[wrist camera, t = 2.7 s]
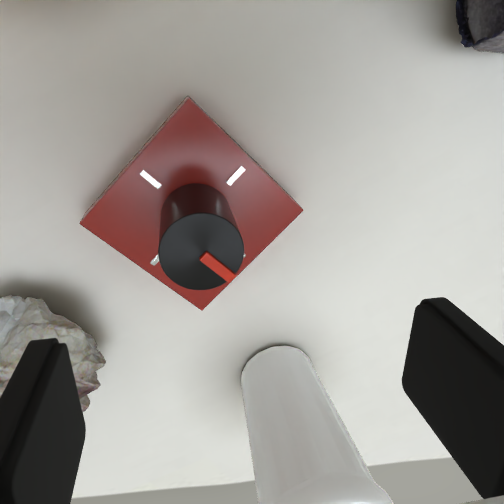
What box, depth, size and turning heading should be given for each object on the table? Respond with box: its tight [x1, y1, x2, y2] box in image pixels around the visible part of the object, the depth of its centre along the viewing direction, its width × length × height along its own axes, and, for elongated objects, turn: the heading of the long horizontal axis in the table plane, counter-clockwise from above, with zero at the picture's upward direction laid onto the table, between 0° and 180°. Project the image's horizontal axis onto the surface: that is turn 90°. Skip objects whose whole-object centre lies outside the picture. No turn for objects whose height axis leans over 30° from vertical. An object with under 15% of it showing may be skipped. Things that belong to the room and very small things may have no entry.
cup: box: [241, 346, 394, 504], centre depth 29 cm, size 8×8×14 cm
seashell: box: [0, 295, 106, 412], centre depth 27 cm, size 14×9×10 cm
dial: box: [158, 183, 244, 290], centre depth 23 cm, size 4×4×6 cm
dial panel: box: [80, 96, 303, 310], centre depth 27 cm, size 10×10×2 cm
